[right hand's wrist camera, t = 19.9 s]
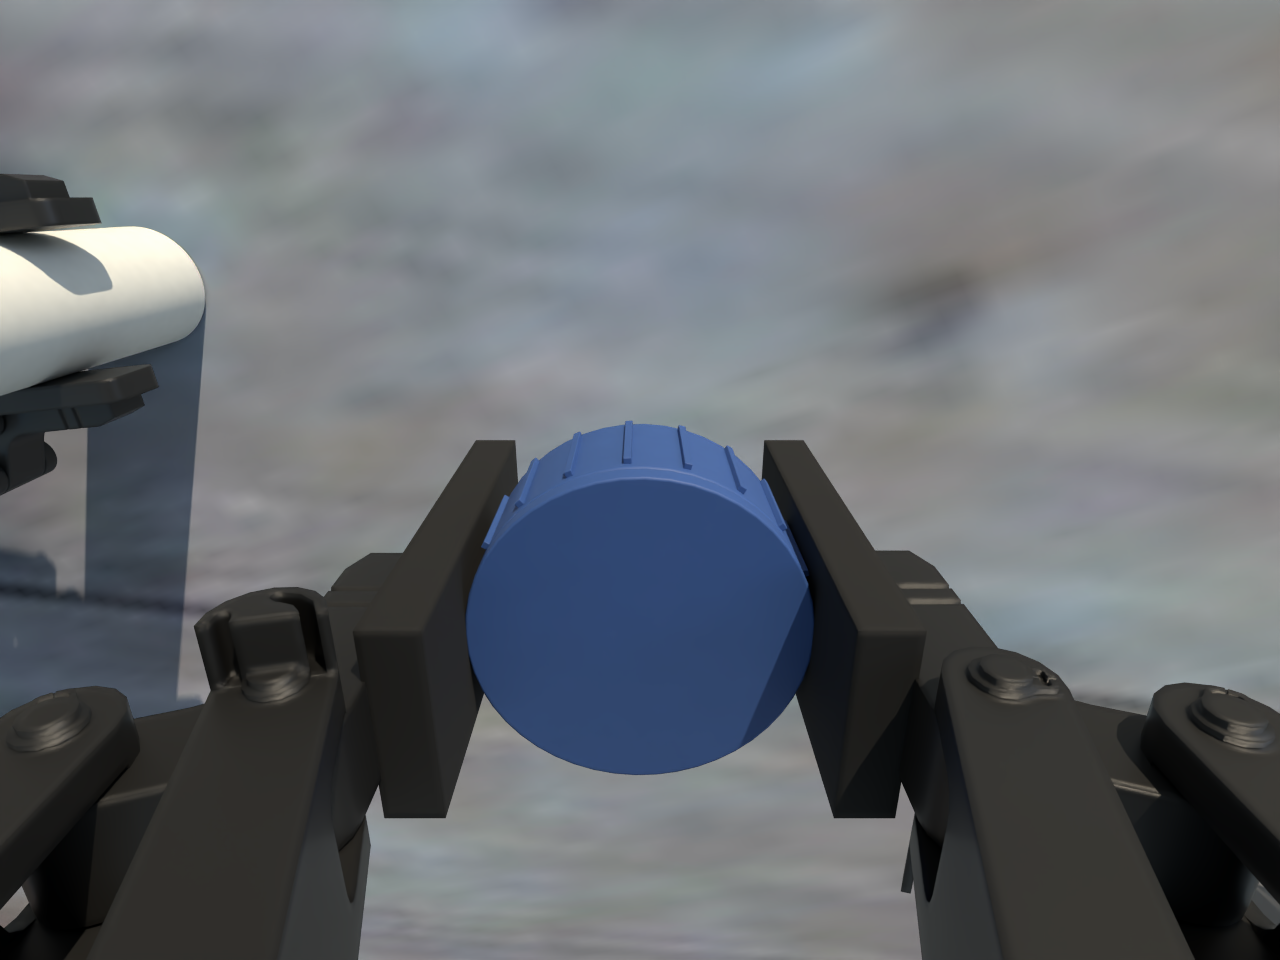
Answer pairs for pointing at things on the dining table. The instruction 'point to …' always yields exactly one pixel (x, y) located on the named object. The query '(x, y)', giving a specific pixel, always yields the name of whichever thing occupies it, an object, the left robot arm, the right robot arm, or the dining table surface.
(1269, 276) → the dining table surface
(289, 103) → the dining table surface
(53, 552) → the dining table surface
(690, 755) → the lid
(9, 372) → the jar
